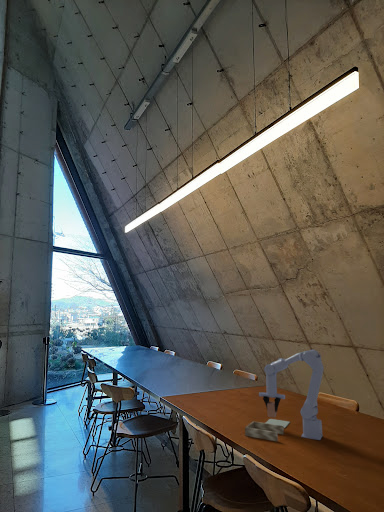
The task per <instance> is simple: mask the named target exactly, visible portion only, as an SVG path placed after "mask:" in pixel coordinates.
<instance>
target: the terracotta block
mask: <svg viewBox="0 0 384 512" xmlns="http://www.w3.org/2000/svg"><path fill="white" fill-rule="evenodd" d="M266 411H267V412H266V413H267V417H268V418H272V419H276V417H277V416H278V415H277V412H275V401H269V402H268V403H267V408H266Z"/></svg>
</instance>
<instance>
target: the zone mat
mask: <svg viewBox="0 0 384 512" xmlns="http://www.w3.org/2000/svg"><path fill="white" fill-rule="evenodd" d="M265 423H267V424H274V425H280V426H284V429H286V427H288V425H290V423H291V421H287V420H282V419H276V418H269V419H268V420H267V421H266V422H265Z"/></svg>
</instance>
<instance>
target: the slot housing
mask: <svg viewBox="0 0 384 512" xmlns="http://www.w3.org/2000/svg"><path fill="white" fill-rule="evenodd" d="M284 429H285V428H284V426H280V425H274V424H267V423H266V422H261V421H260V422H259V421H252V422H250V423H248V424H247V425H246V426H245V427H244V436H245V437H250V438H255V439H256V438H257V439H261V440H268V441H272V442H273V441H274V442H278V441H279V439H278V438H279V436H278V435H284V434H285V430H284Z"/></svg>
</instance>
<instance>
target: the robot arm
mask: <svg viewBox="0 0 384 512" xmlns="http://www.w3.org/2000/svg"><path fill="white" fill-rule="evenodd" d="M298 361H301V362H305V363H306V364H307V365H309V367H310V368H311V370H312V373H311V377H310V381H309V385H308V390H307V396H306V400H305V401H304V403H303V406H302V407H301V409H300V416H301V417H302V432H303V433H302V434H301V436H300V437H301V438H306V439H311V440H317V441H321V440H322V438H323V423H322V422H323V421H322V420H321V419H318V418H317V415H318V414H319V409H318V397H319V392H320V387H321V382H322V379H323V374H324V369H325V368H324V365H323V362H322V361H323V360H322V355H321V354H320V353H319V351H317V350H316V349H309V350H304V351H302V352H298V353H295V354H293V355H292V356H290V357H288V358H283V357H282V358H281V357H280V358H277V360H275V361H272V362H271V363H268V364H266V365H265V366H264V369H263V371H264V373H265V375H266V376H265V379H266V380H265V381H266V385H265V387H266V392H264V391H263V392H260V391H259V392H258V397H262V400H263V403H264V404H265V407H266V409H267V403H268V402H270V398H272V399H274V401H273V402H275V412H276V413H277V412H278V408H279V405H280V402H281V399H282V400H285V399H286V395H285V394H281V393H278V387H277V385H278V384H277V374H278V373H279V372H282V371H284V370H285V369H288V367H289V365H291V364H293V363H296V362H298Z"/></svg>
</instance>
